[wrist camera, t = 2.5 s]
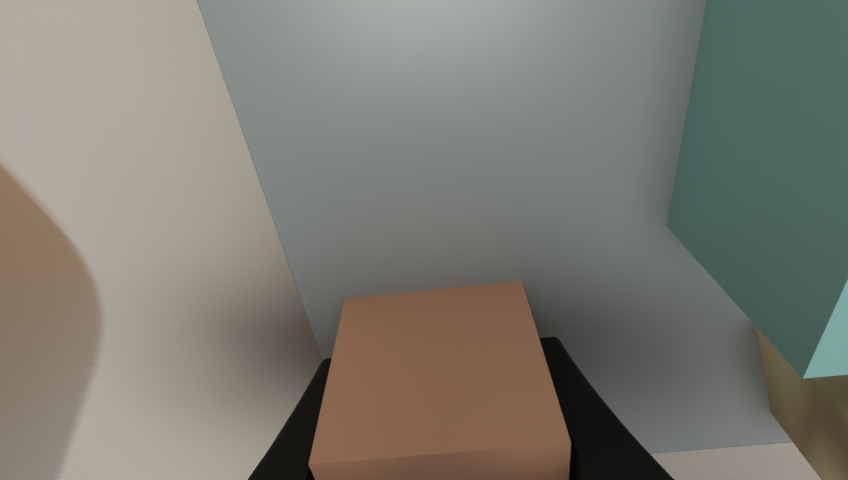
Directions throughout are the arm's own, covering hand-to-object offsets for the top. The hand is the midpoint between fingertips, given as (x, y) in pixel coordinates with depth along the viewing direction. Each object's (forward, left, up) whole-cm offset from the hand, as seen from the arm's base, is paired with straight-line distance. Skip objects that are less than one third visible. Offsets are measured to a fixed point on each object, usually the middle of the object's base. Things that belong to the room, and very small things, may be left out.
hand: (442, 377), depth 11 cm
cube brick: (0, 0, -1) cm, 1 cm away
